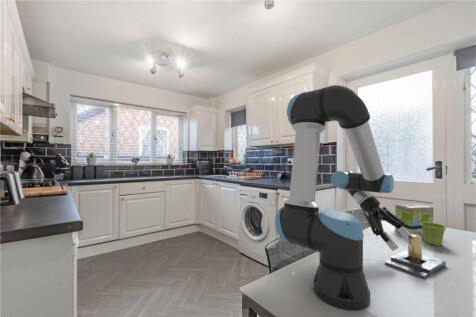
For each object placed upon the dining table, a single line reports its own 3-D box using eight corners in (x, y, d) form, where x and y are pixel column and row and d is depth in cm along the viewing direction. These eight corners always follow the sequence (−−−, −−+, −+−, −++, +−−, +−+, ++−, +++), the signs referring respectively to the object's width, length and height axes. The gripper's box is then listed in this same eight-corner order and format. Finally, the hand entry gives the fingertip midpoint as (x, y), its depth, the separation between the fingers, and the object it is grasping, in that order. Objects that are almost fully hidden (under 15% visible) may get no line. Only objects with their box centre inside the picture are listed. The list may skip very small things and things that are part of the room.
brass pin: (419, 268, 81) (418, 238, 81) (406, 264, 84) (406, 235, 84) (424, 266, 83) (423, 236, 83) (411, 262, 86) (411, 233, 86)
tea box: (412, 236, 115) (412, 208, 115) (394, 230, 124) (394, 204, 125) (434, 234, 119) (434, 206, 119) (414, 228, 128) (414, 203, 129)
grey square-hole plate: (424, 279, 74) (424, 276, 74) (385, 264, 84) (385, 261, 84) (441, 268, 81) (441, 265, 81) (403, 256, 91) (403, 254, 91)
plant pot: (452, 247, 101) (452, 227, 101) (431, 247, 101) (431, 227, 101) (434, 239, 110) (434, 222, 110) (415, 239, 111) (415, 222, 111)
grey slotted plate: (429, 275, 76) (429, 270, 76) (390, 262, 86) (390, 256, 86) (445, 266, 83) (445, 260, 83) (408, 254, 93) (408, 249, 93)
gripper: (375, 202, 108) (412, 244, 95) (343, 208, 96) (379, 256, 83) (387, 193, 104) (427, 235, 91) (355, 198, 91) (395, 247, 78)
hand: (404, 245), depth 87 cm, fingers open, 13 cm apart
